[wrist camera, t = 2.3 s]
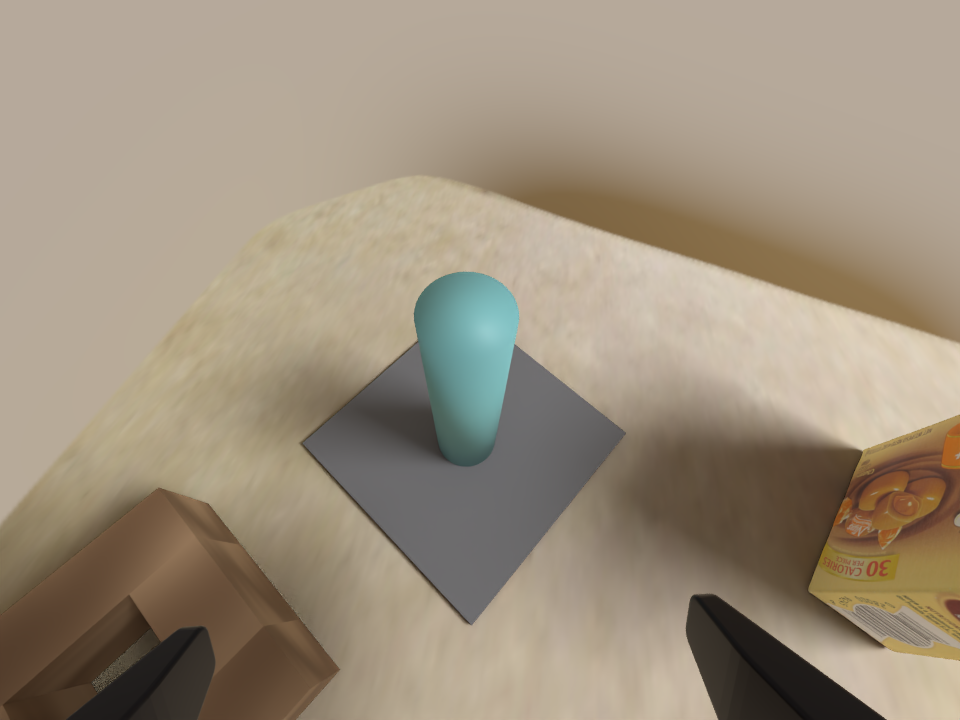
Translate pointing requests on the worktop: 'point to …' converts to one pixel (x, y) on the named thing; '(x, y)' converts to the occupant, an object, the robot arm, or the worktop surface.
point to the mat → (465, 473)
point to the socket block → (159, 619)
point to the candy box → (900, 544)
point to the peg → (466, 360)
